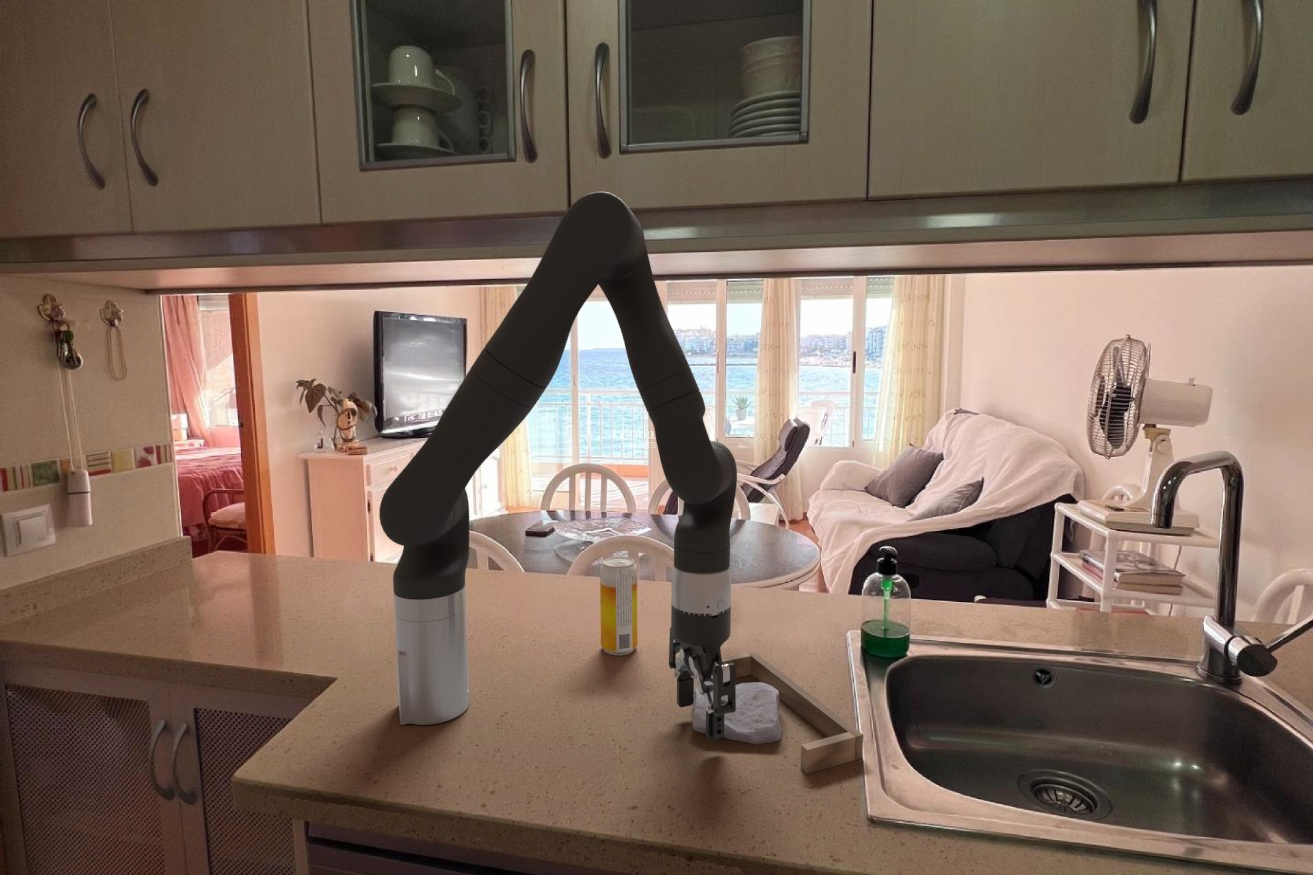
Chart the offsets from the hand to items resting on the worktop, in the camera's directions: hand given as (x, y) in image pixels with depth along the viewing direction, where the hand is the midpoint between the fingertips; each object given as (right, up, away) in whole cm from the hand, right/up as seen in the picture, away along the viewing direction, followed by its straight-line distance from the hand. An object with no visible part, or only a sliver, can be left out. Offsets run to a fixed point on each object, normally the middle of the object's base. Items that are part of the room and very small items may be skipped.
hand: (699, 721), depth 87 cm
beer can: (-12, +1, +25) cm, 28 cm away
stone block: (+5, -2, +2) cm, 6 cm away
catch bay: (+11, -1, +5) cm, 12 cm away
